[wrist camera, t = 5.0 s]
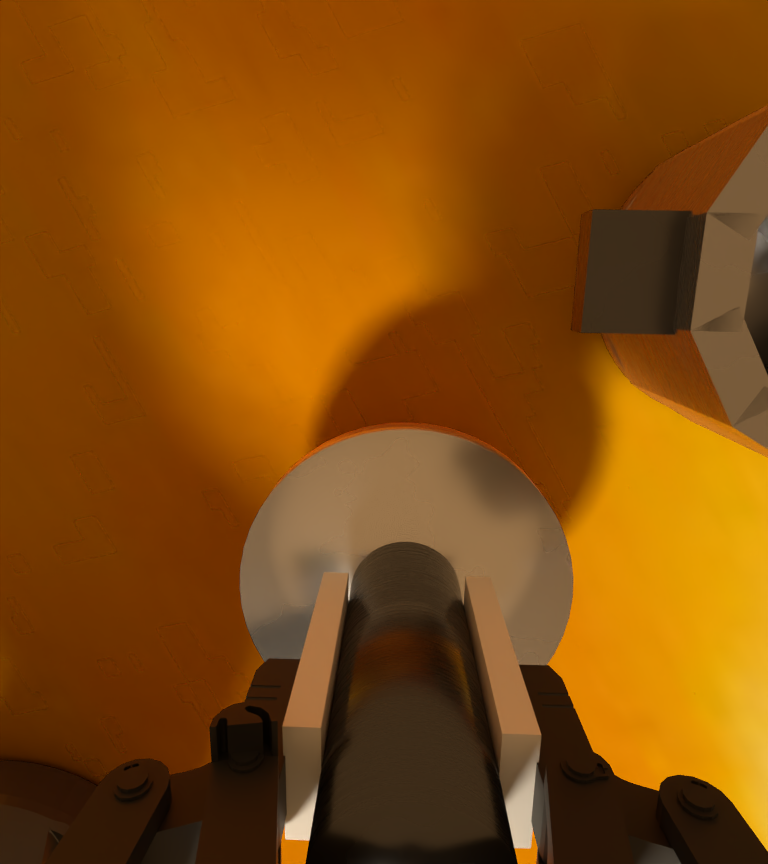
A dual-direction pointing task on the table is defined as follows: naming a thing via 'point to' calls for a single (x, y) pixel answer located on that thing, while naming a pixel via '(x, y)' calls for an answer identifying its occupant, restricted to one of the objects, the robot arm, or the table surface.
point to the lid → (407, 629)
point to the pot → (689, 282)
